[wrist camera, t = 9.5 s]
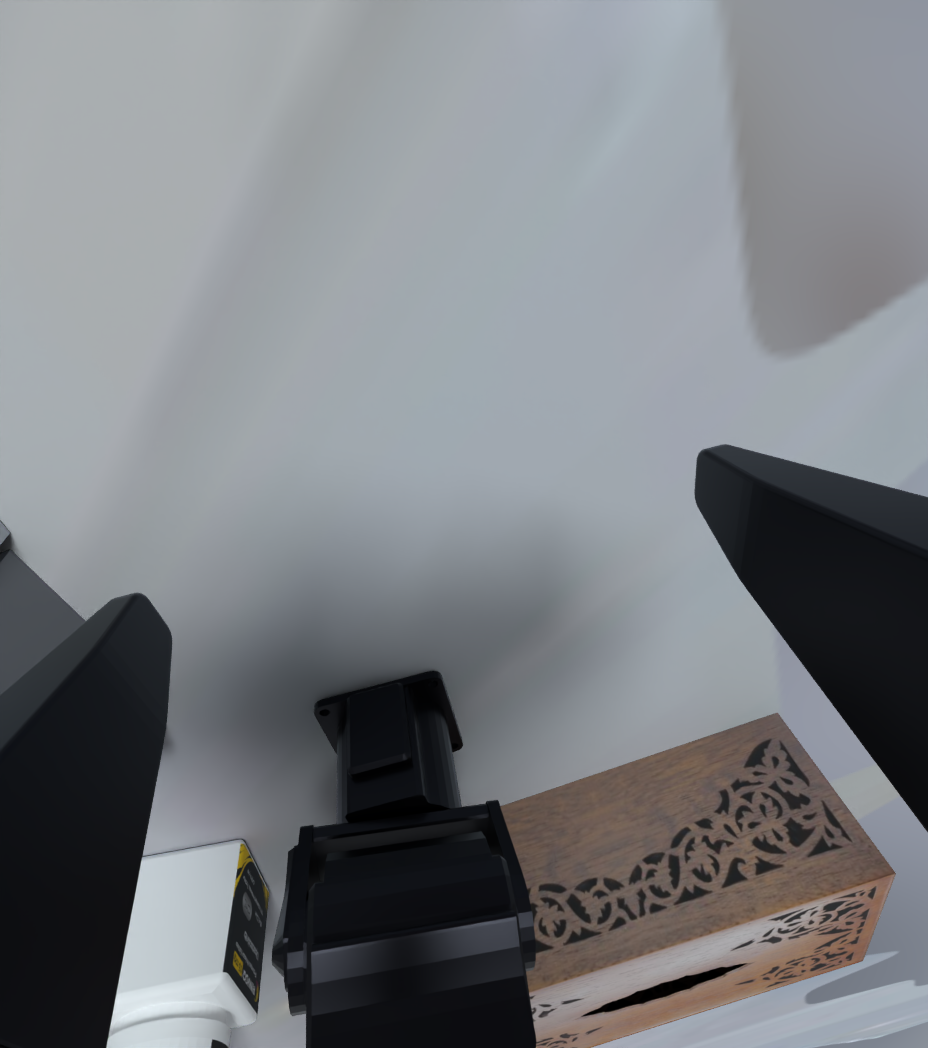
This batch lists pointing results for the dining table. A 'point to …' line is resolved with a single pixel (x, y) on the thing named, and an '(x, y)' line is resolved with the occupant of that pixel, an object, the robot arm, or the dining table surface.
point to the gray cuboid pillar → (28, 619)
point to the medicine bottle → (192, 950)
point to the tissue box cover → (690, 884)
